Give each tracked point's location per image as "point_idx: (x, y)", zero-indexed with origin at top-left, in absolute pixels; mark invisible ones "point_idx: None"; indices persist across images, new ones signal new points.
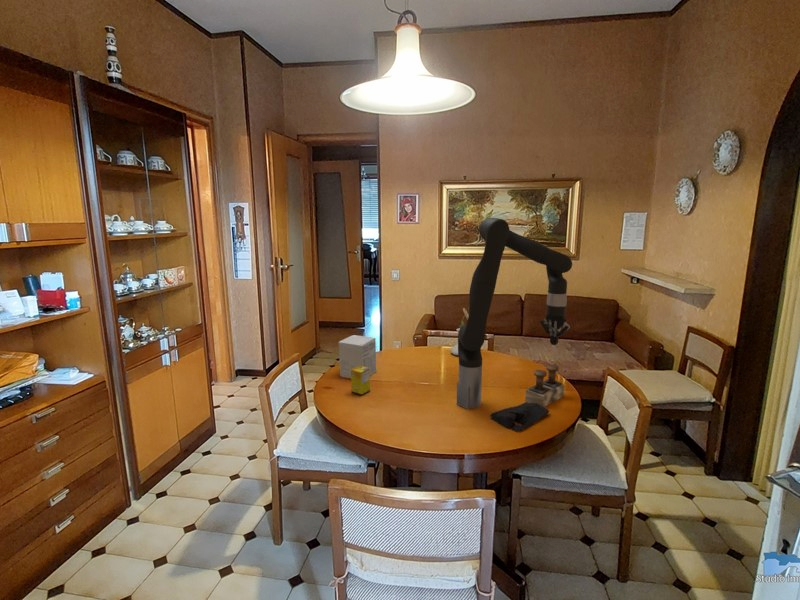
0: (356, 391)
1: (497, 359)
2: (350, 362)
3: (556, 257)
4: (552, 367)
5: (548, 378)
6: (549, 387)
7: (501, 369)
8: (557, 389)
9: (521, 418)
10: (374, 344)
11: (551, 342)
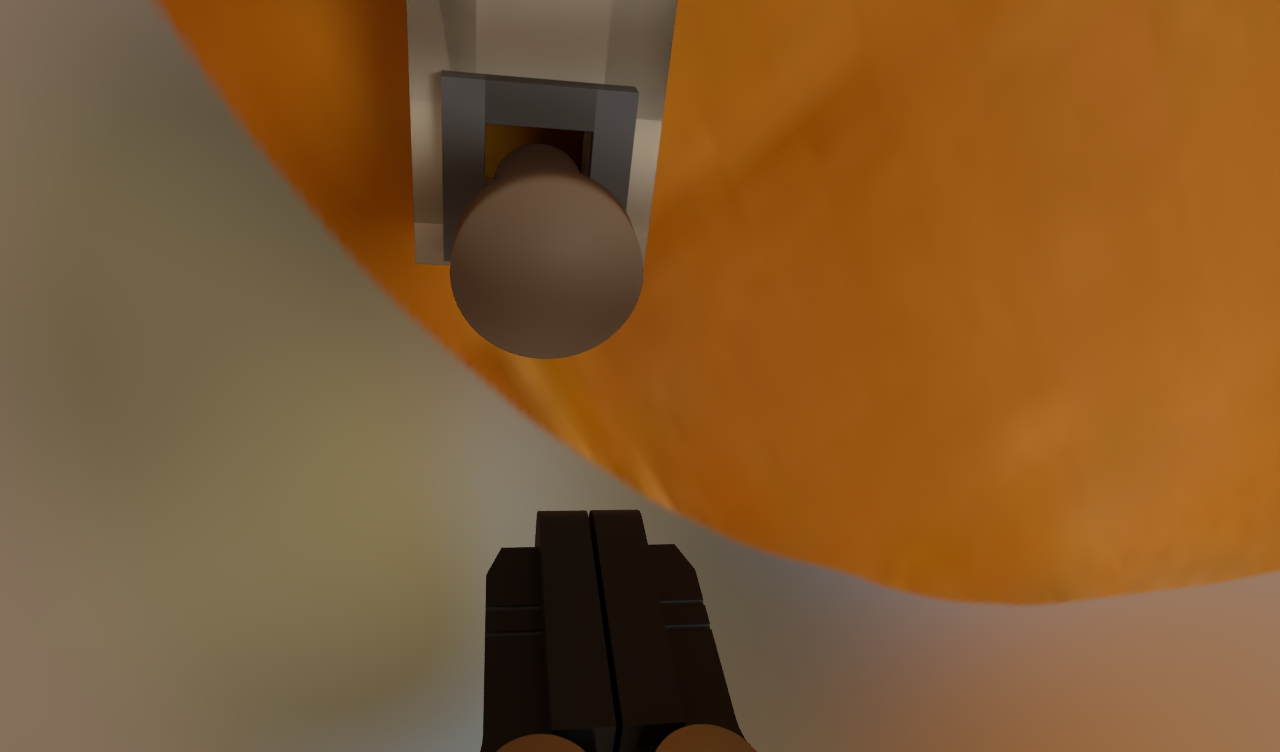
0: None
1: (1232, 493)
2: None
3: None
4: (527, 238)
5: (572, 169)
6: (504, 63)
7: (1159, 346)
8: (411, 99)
9: None
10: None
11: (632, 547)
